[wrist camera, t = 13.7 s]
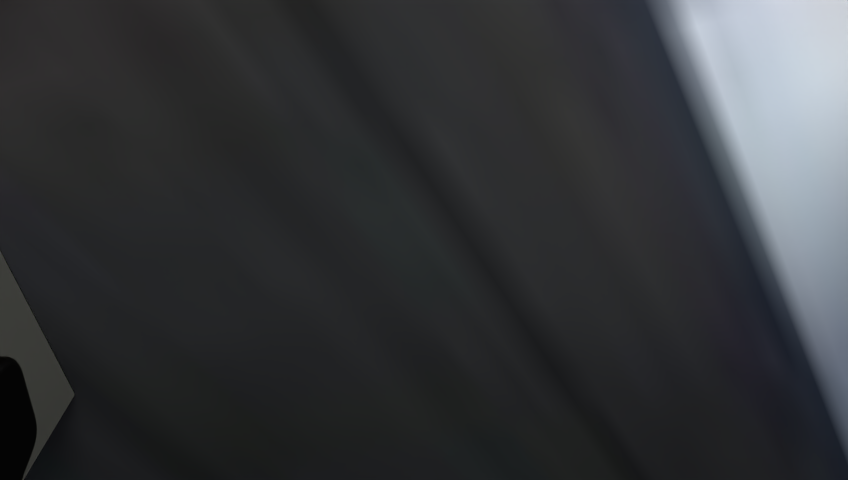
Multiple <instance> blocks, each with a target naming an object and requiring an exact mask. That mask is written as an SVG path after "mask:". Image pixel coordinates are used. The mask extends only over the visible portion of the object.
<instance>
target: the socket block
mask: <svg viewBox="0 0 848 480" xmlns="http://www.w3.org/2000/svg"><path fill="white" fill-rule="evenodd" d="M0 356H7V357H11V358H13V359H15V360H16V361H17V362H18V363H19V365H20V367H21V369H22V372H23V375H24V379H25V382H26V386H27V389H28V393H29V396H30V400H31V403H32V407H33V410H34V414H35V417H36V422H37V437H36V442H35V446H34V449H33V452H32V454H31V457H30V460H29V462H28V465H27V468H26V471H25V473H24V476H23V479H22V480H24V478H25V477H26V475H27V473H28V472H29V470H30V468H31V467H32V465H33V463H34V462H35V460H36V458H37V457H38V455H39V453H40V452H41V450H42V448H43V447H44V445H45V443H46V442H47V440H48V438H49V437H50V435H51V433H52V432H53V430H54V428H55V427H56V425H57V423H58V422H59V420H60V418H61V417H62V415H63V413H64V412H65V410H66V409H67V407H68V405H69V404H70V402H71V400H72V399H73V397H74V395H75V394H74V392H73V390H72V388H71V386H70V384H69V382H68V380H67V379H66V377H65V375H64V373H63V371H62V369H61V367H60V365H59V363H58V361H57V359H56V357H55V355H54V353H53V352H52V350H51V348H50V346H49V344H48V342H47V340H46V338H45V336H44V334H43V332H42V330H41V328H40V327H39V325H38V323H37V321H36V319H35V317H34V315H33V313H32V311H31V309H30V307H29V305H28V303H27V302H26V300H25V298H24V296H23V294H22V292H21V290H20V288H19V286H18V284H17V282H16V280H15V278H14V277H13V275H12V273H11V271H10V269H9V267H8V265H7V263H6V261H5V259H4V257H3V255H2V253H1V251H0Z"/></svg>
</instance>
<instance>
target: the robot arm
mask: <svg viewBox="0 0 848 480" xmlns="http://www.w3.org/2000/svg"><path fill="white" fill-rule="evenodd" d="M36 437H37V422H36V417H35V414H34V410H33V407H32V403H31V400H30V396H29V393H28V389H27V386H26V382H25V379H24V375H23V372H22V369H21V367H20V365H19V363H18V362H17V361H16V360H15V359H13V358H11V357H7V356H0V480H22V479H23V476H24V473H25V471H26V468H27V465H28V462H29V460H30V457H31V454H32V452H33V449H34V446H35V442H36Z"/></svg>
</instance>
